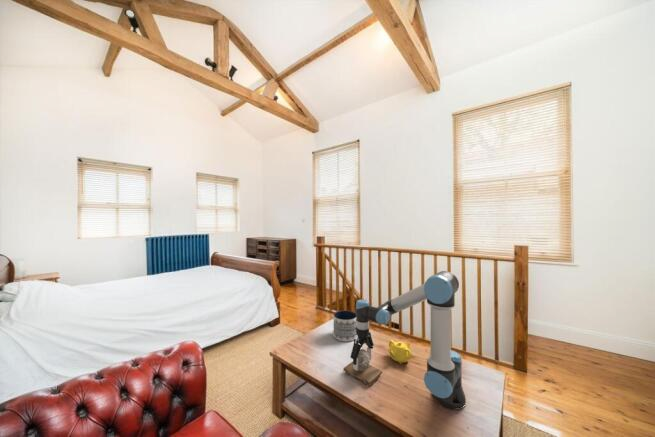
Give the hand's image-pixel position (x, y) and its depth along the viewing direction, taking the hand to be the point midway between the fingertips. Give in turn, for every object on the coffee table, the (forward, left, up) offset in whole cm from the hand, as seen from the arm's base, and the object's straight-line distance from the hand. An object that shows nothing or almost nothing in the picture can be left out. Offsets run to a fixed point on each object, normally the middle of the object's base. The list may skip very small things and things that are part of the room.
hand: (362, 364), depth 138 cm
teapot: (-9, -29, -6) cm, 31 cm away
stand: (0, 0, -6) cm, 6 cm away
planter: (+36, -29, -6) cm, 47 cm away
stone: (0, 0, -3) cm, 3 cm away
